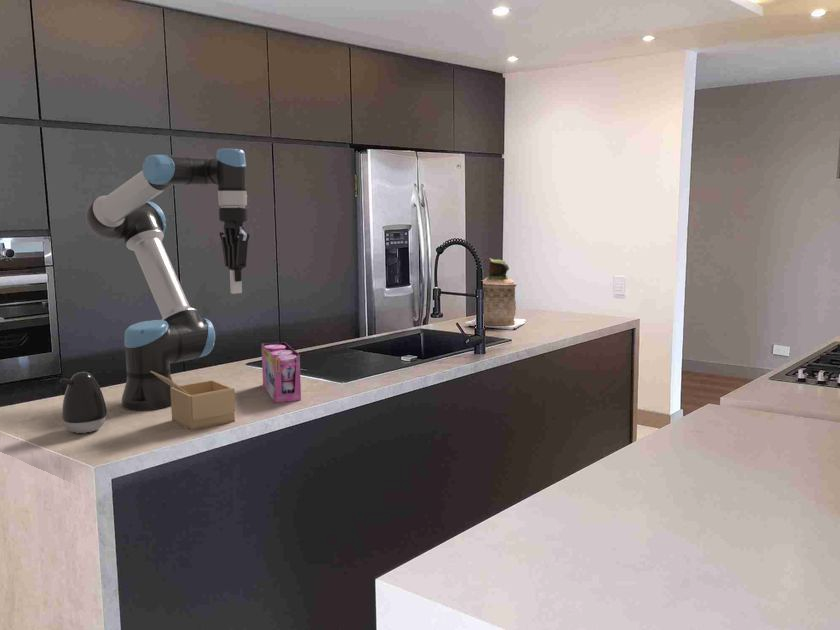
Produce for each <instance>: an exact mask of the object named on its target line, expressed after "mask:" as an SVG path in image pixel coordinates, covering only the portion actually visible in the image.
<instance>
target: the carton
mask: <svg viewBox="0 0 840 630" xmlns="http://www.w3.org/2000/svg"><path fill="white" fill-rule="evenodd" d="M179 386H180V387H181V388H182V389H184V390H185V391H186V392H188V393H189V395H188V394H186V393H184V392H182V391H180V390H177V389H175V388H173V387H170V391H171V406H170V409H171V421H173V422H175V424H177V425H180V426H182V427H184V428H185V427H186V428H185V429H187V428H188V429H187V430H189V431H191V432H193V431H197V429H198V430H201V429H205V428H211V427H215V426H220V425H224V424H228V423H229V424H230V423H234V422H236V418H235V417H236V415H235V414H236V399H235V398H236V397H235V396H236V395H235V388H234V387H232V386H229V385H227V384H224V383H222V382H219V381H217V380H215V379H210V380H205V381H199V382H193V383H187V384H182V385H179ZM192 430H193V431H192Z"/></svg>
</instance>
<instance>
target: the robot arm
mask: <svg viewBox="0 0 840 630" xmlns="http://www.w3.org/2000/svg"><path fill="white" fill-rule="evenodd" d="M175 185H176V186H177V185H178V186H179V185H180V186H181V185H183V186H185V185H186V186H199V187H208V186H217V197H218V198H217V200H218V201H217V202H218V205H219V206H220V207H219V209H218V216H219V217H218V218H219V219H218V220H219V221H220V222H223V223H224V226H223V231H220V232H219V237H220V240H221V248H222V251H223V252H222V253H223V258H224V259H223V260H224V265H225V267H228V270H229V282H230V283H229V284H230V287H229V288H230V294H233V295H234V294H235V295H236V294H243V283H242V282H243V281H242V270H243V268H246V267H247V256H248V245H249V239H250V233H248V232H245V226H244V222H248V219H249V216H248V209H247V207H246V206H247V205H248V194H247V162H246V153H245V151H244V150H243V149H240V148H218V149H217V150H216V155H215V157H199V156H182V155H180V156H179V155H172V154H171V155H169V154H163V153H161V154H150V155H148V156H146V158H144V162H142V170H141V171H139V172H138V173H136V174H135V175H133V176H132V177H131V178H129V179H128V180H127V181H125V182H124V183H123V184H122V185H120V186H118V187H117V188H116V189H114V190H113V191H112V192H110V193H108V195H100V196H98V197H96V198H95V199H94V200H93V201H91V203H90V204H89V205H88V207H87V208H86V210H85V221H86V225H87V226H88V228H89V230H90V231H91V232H92V233H93V234H95V235H96V236H98V237H100V238H103V239H104V240H105V239H106V240H123V241H124V244H125V246H126V248H127V249H128V250H130V251H133V253H134V255H135V257H136V259H137V262H138V263H139V266H140V268H141V270H142V273H143V275H144V278H145V280H146V282H147V285H148V287H149V290H150V291H151V294H152V297H153V299H154V302H155V303H156V305H157V308H158V311H159V313H160V315H161V317H162V318H161V319H152V320H144V321H140V322H136V323H133V324H131V325H129V326H127V328H126V330H125V331H124V342H123V345H124V353H125V363H126V364H125V365H126V381H125V386H124V389H123V392H122V397H121V405H122V407H123V408H124V409H126V410H132V411H148V410H149V411H151V410H158V409H163V408H167V407H171V391H170V387H171V386H169V385H168V384H167V383H165V382H164V381H163V380H161V379H160V378H158V377H157V376H156V375H154V374H153V373H151V372H150V371H153V372H155V373H157V374H160V375H162V376H164V377H166V378H169V379H170V380H171V381H173V378H172V376H171V375H172V374H171V364H174V363H180V362H185V361H190V360H197V359H199V358H202V357H206V356H208V355H209V354H210V353H211V352H212V350H213V349H214V348H215V347H214V346H215V341H216V331H215V327H214V324H213V323H212V321H211V320H209V319H208V318H205V317H201V316H200V313H199V311H198V310H197V308H193V307H191V306H190V303H189V301H188V299H187V297H186V295H185V292H184V290H183V288H182V285H181V282H180V280H179V278H178V275H177V274H176V271H175V269H174V267H173V264H172V262H171V260H170V257H169V255H168V253H167V251H166V249H165V246H164V244H163V240H164V237H165V232H166V229H167V224H166V222H167V220H166V216H165V213H164V211H163V209H162V208H161V207H160V206H159V205H158V204H156V203H155V202H153V201H151V200H153V199H155V197H157V196H158V195H161V194H162V193H163V192H164V191H166V190H167V189H169V188H172V186H175Z"/></svg>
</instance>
